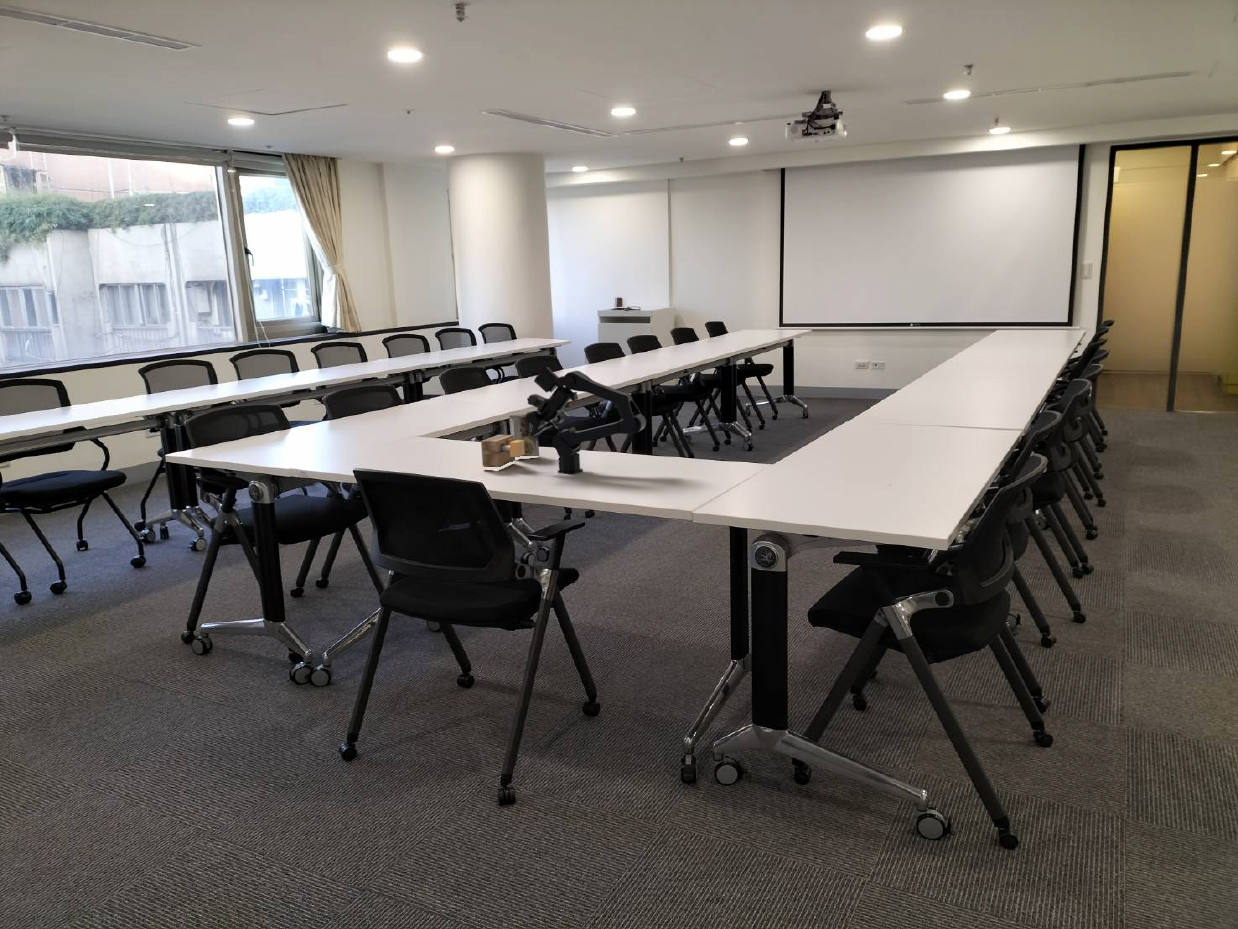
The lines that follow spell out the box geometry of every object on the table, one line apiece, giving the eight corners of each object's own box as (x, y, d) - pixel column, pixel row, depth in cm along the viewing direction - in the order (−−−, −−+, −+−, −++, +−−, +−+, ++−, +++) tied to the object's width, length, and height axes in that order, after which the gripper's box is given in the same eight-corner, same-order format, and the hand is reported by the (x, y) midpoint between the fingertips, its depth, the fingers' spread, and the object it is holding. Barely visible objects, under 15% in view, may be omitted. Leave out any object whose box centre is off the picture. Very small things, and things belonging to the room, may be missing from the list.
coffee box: (535, 455, 330) (532, 413, 327) (539, 458, 324) (537, 415, 321) (511, 458, 327) (508, 415, 324) (515, 460, 321) (512, 417, 318)
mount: (517, 464, 314) (516, 435, 312) (501, 471, 302) (499, 441, 300) (500, 463, 317) (498, 434, 315) (483, 470, 305) (481, 441, 303)
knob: (524, 454, 305) (523, 440, 304) (518, 457, 301) (517, 442, 300) (506, 453, 308) (505, 439, 307) (499, 456, 303) (498, 442, 302)
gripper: (554, 383, 304) (529, 416, 310) (527, 387, 288) (501, 422, 294) (576, 405, 302) (551, 437, 308) (550, 410, 285) (524, 445, 292)
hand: (531, 435), depth 300 cm, fingers closed
